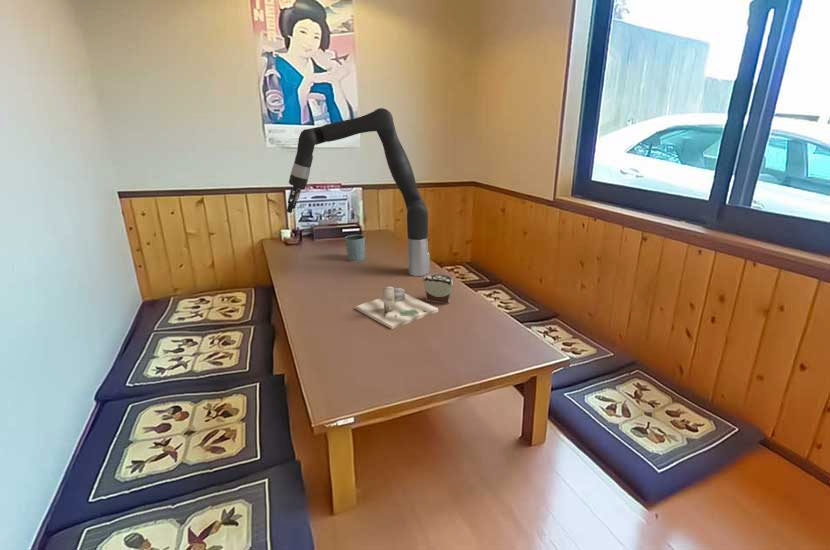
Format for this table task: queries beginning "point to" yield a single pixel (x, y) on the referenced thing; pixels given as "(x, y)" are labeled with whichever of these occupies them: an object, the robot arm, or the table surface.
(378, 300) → the dial plate
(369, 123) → the robot arm
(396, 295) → the peg dial
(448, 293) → the food container
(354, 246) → the grey cup
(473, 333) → the table surface
